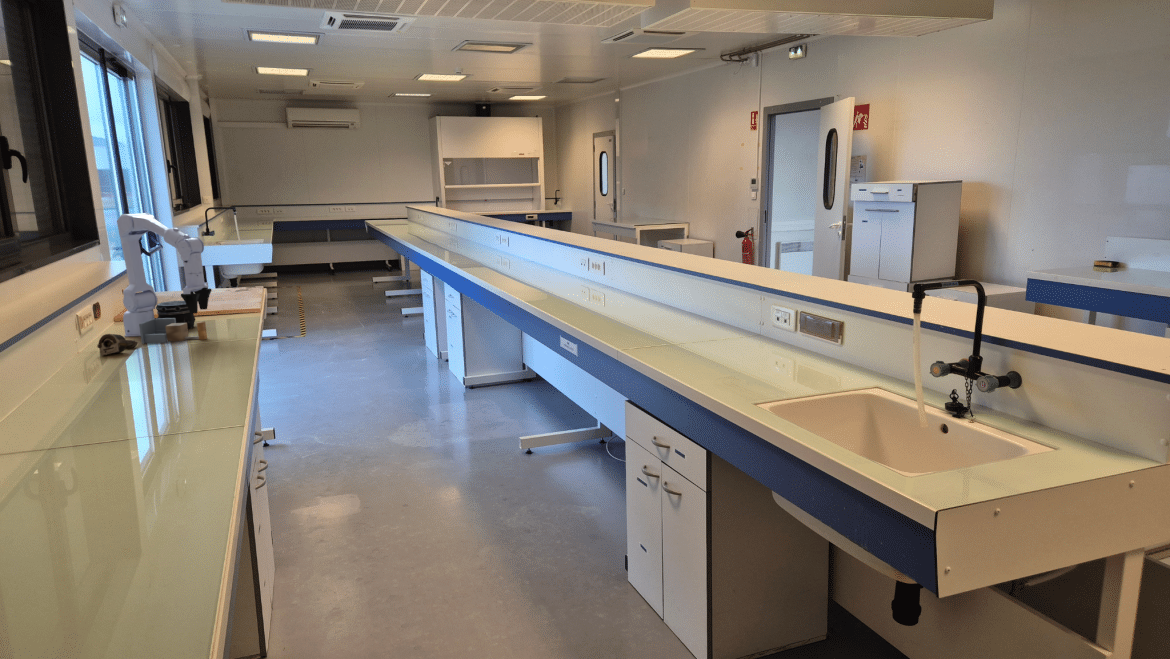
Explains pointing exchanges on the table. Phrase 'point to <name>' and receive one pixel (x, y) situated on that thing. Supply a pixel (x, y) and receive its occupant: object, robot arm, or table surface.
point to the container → (176, 312)
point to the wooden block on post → (184, 331)
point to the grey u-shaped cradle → (155, 330)
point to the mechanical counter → (114, 344)
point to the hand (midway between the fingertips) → (198, 311)
